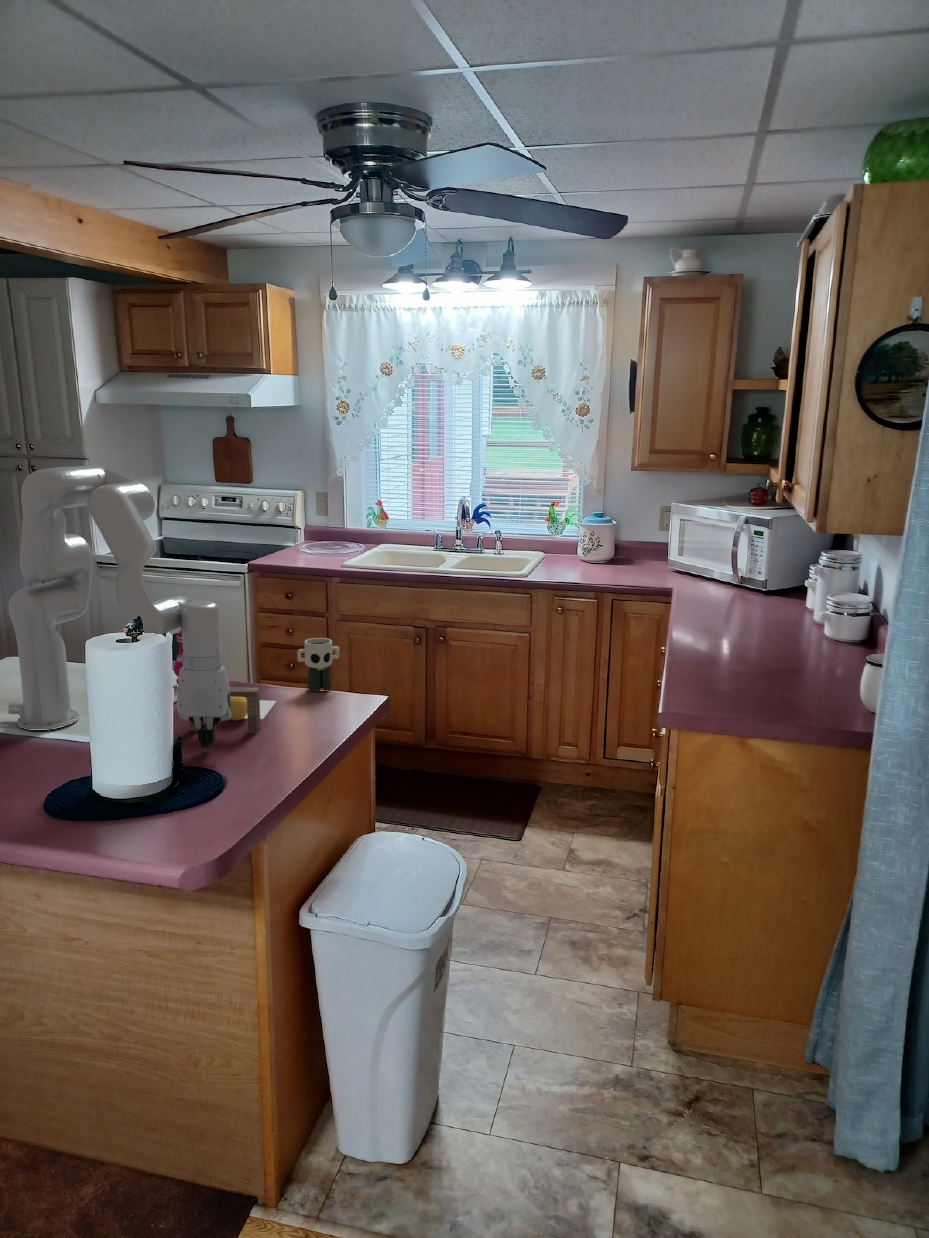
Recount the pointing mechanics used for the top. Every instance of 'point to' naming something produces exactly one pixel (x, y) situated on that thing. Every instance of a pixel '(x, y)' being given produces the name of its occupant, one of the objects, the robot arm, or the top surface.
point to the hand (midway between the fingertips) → (206, 745)
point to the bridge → (252, 707)
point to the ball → (238, 708)
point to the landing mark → (264, 708)
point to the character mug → (318, 662)
